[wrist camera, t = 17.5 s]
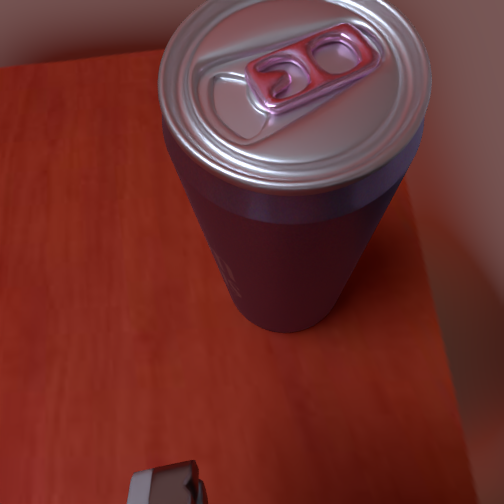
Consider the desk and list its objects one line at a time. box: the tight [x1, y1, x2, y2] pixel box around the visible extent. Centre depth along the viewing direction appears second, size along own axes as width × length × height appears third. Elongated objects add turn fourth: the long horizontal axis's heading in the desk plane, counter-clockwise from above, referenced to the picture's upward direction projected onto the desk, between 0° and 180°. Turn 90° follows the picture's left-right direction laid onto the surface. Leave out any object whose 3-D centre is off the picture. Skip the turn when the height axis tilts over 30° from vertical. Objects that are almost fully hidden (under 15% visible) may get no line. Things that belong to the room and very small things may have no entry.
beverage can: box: [158, 0, 432, 333], centre depth 16 cm, size 6×6×15 cm
